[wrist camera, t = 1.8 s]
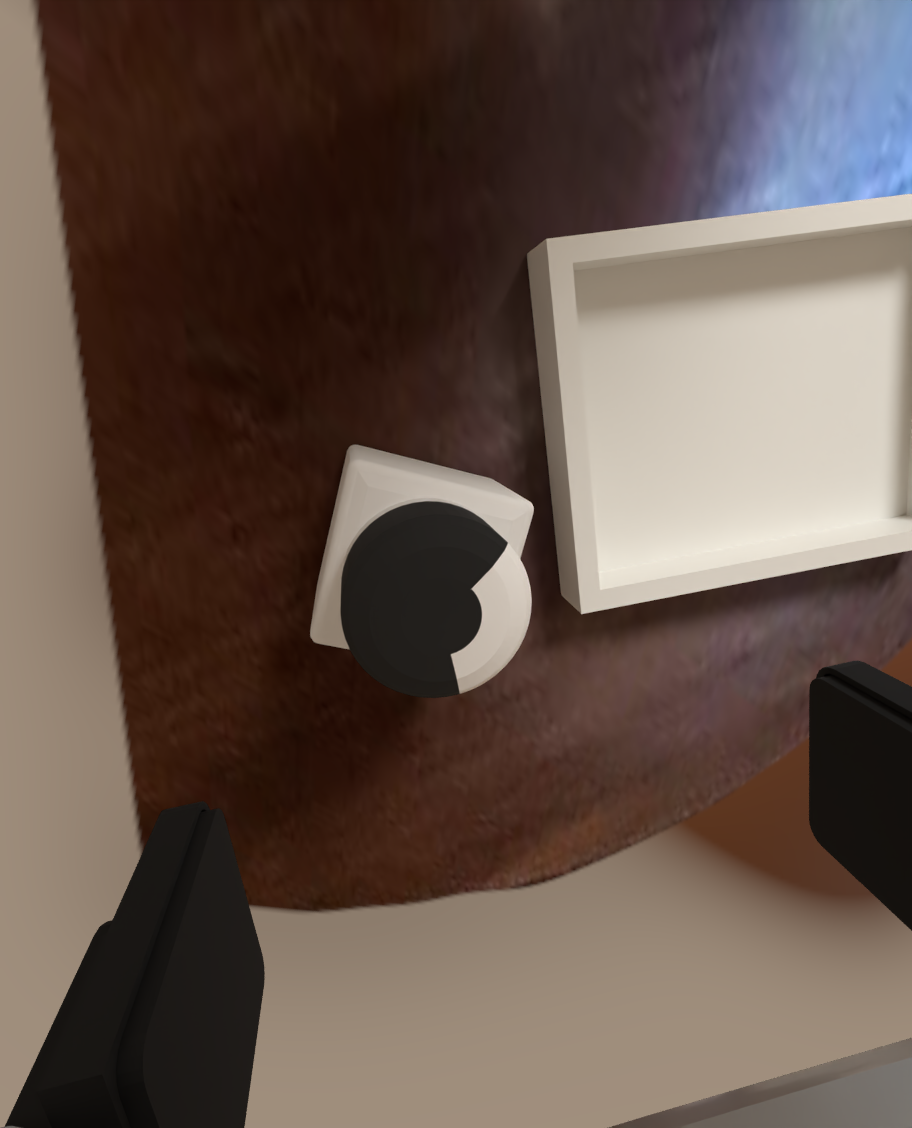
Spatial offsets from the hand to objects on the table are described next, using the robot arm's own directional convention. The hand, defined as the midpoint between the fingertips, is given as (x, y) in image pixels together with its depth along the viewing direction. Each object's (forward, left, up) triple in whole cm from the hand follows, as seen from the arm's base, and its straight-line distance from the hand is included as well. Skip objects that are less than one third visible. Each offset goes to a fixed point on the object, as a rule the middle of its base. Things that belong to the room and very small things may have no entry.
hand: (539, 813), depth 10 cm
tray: (-3, +17, -22) cm, 28 cm away
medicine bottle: (0, 0, -22) cm, 22 cm away
